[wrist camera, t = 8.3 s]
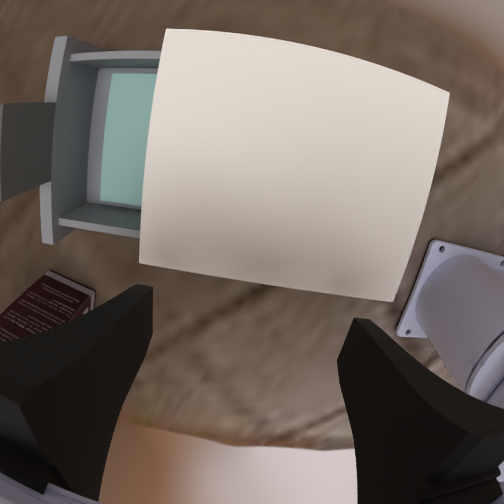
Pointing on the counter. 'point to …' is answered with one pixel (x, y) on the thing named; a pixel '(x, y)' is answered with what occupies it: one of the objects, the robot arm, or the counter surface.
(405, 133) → the sleeve
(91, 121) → the tray
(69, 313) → the supplement box
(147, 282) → the counter surface
